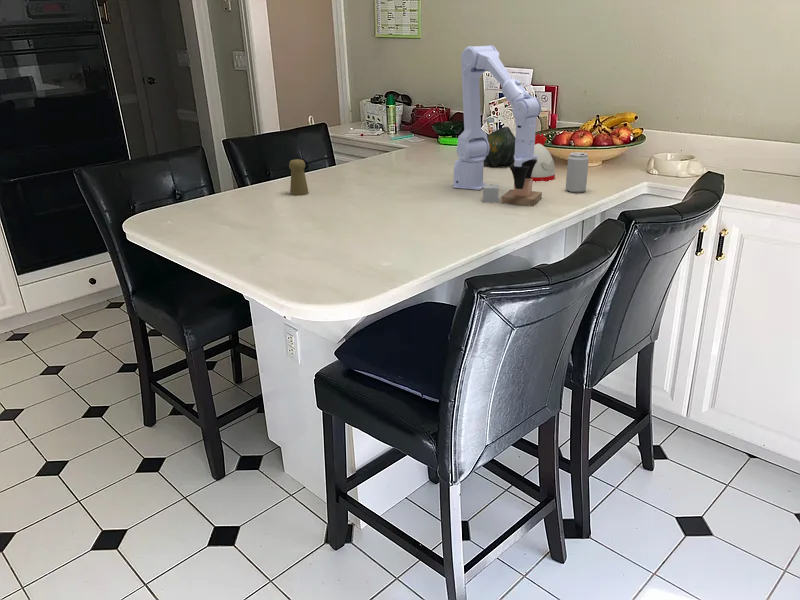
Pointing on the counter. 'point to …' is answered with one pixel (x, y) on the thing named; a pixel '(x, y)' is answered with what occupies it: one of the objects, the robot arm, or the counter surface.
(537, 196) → the walnut plinth
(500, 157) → the squash
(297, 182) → the cork
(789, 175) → the counter surface
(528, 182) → the terracotta cube
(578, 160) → the beverage can
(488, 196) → the grey cube
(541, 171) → the kitchen timer
